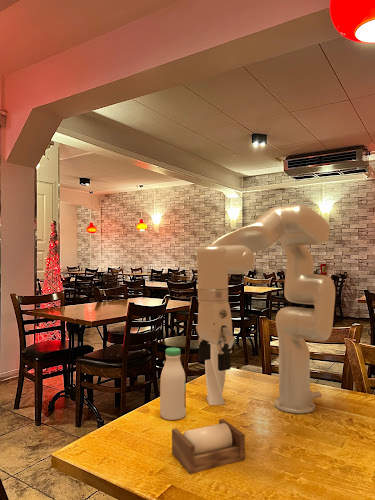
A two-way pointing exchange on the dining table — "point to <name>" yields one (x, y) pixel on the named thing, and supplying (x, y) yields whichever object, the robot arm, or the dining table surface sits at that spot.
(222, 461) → the cradle
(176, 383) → the milk bottle
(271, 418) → the dining table surface
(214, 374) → the skyscraper
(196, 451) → the roll
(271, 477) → the dining table surface
